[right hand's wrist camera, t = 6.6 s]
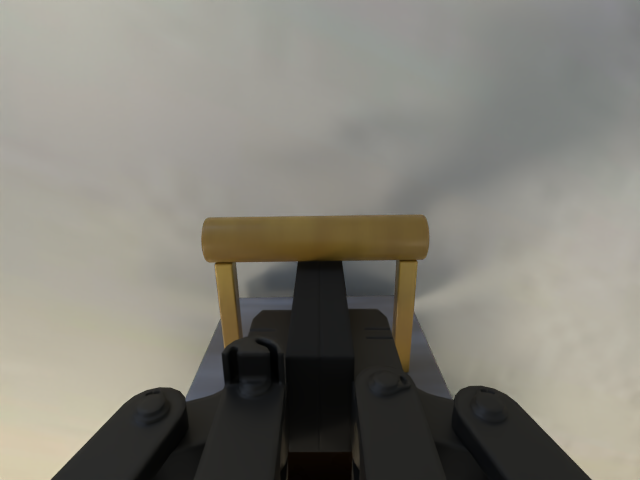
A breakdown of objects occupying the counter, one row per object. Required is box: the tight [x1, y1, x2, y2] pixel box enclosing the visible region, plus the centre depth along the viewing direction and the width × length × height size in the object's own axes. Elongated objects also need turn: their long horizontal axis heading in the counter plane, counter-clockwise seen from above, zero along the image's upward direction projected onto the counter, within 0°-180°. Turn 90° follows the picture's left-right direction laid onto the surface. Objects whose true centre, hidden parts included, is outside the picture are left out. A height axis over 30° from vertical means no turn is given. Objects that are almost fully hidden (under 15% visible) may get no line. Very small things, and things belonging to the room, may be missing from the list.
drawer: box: [185, 215, 453, 480], centre depth 19 cm, size 26×9×8 cm, turn 1°
